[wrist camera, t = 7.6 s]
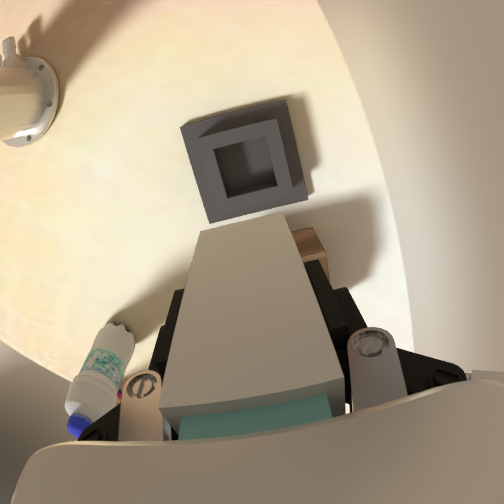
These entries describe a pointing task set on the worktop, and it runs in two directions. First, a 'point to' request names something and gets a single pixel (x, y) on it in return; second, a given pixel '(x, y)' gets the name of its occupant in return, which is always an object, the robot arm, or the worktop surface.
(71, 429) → the bottle
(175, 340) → the plug
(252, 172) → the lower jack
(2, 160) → the worktop surface
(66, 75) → the worktop surface
